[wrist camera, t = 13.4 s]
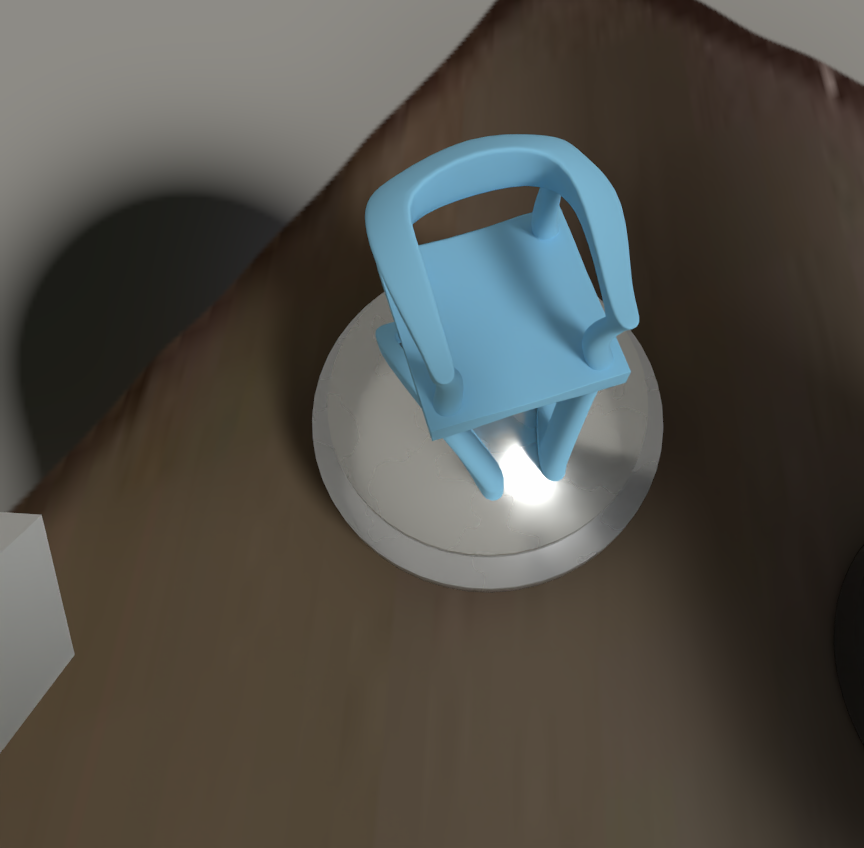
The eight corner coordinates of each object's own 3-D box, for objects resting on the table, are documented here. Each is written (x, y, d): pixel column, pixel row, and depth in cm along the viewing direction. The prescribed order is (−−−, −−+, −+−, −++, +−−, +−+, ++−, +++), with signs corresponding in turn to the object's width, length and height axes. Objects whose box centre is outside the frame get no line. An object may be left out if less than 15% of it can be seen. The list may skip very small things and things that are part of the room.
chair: (432, 520, 29) (404, 410, 18) (375, 336, 32) (320, 139, 21) (620, 462, 29) (711, 318, 18) (548, 285, 32) (588, 64, 21)
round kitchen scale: (582, 262, 38) (597, 201, 34) (698, 543, 33) (735, 517, 28) (296, 341, 38) (270, 290, 33) (368, 641, 32) (350, 630, 28)
